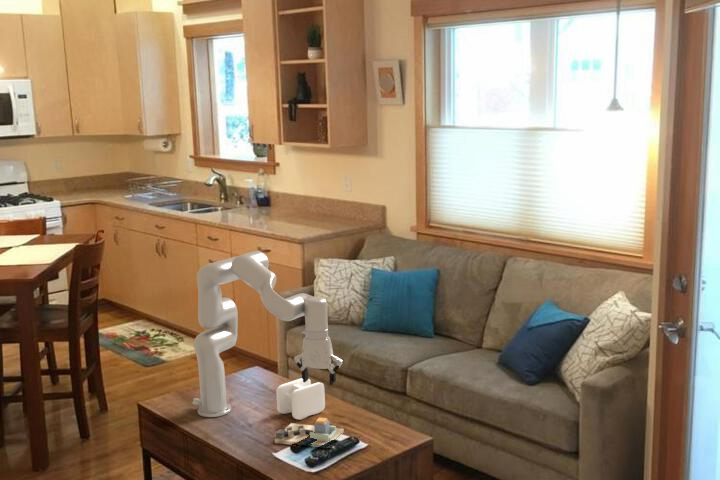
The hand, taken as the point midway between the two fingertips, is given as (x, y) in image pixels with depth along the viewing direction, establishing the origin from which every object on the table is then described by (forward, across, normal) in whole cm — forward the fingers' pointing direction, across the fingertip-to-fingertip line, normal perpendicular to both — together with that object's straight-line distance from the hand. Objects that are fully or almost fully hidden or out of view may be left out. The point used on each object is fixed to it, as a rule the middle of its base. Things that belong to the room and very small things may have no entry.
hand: (319, 382), depth 267 cm
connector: (+19, +1, -1) cm, 19 cm away
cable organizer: (+21, -15, +19) cm, 32 cm away
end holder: (+19, +1, 0) cm, 19 cm away
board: (+20, -4, 0) cm, 21 cm away
